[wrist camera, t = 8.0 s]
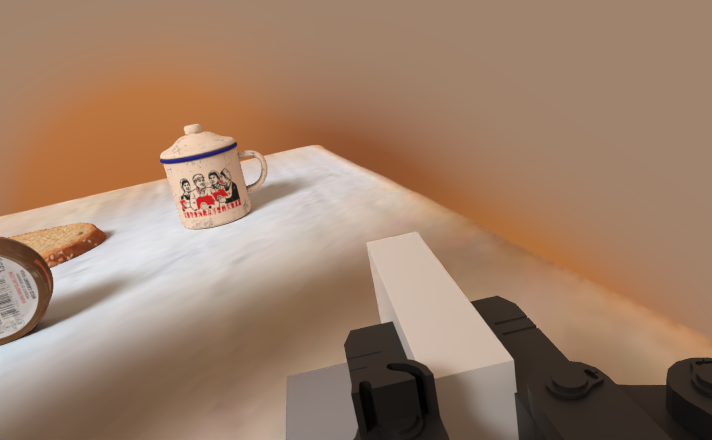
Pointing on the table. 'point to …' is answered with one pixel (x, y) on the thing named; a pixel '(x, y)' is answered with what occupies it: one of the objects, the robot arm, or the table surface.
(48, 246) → the bread slice
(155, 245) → the table surface
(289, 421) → the ceramic tile
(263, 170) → the teacup with lid
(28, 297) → the tin
